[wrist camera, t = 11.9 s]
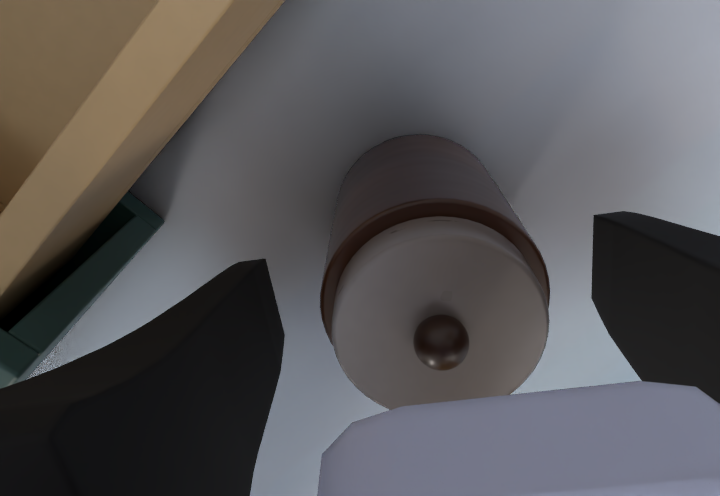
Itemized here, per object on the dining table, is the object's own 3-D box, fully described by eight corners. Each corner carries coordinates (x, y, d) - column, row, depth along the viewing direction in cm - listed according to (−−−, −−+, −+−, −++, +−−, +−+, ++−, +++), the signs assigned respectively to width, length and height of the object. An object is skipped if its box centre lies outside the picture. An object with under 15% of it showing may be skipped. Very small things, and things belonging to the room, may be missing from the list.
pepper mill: (349, 292, 17) (335, 469, 10) (322, 147, 15) (285, 256, 9) (500, 273, 16) (580, 446, 10) (492, 121, 14) (583, 217, 8)
